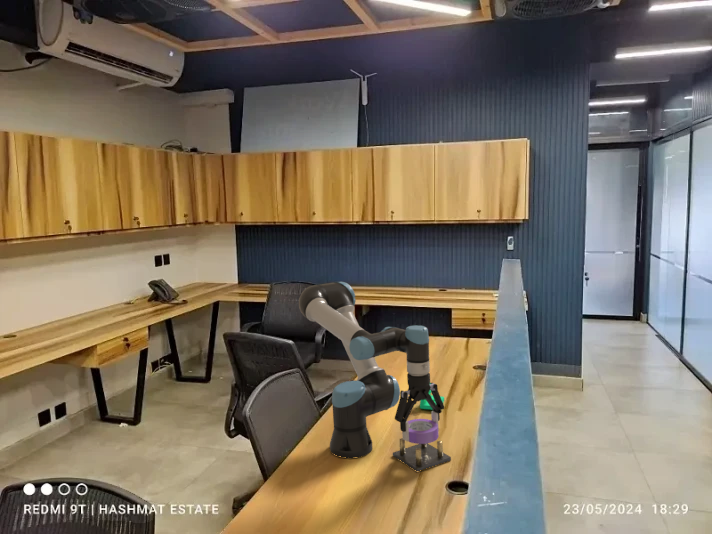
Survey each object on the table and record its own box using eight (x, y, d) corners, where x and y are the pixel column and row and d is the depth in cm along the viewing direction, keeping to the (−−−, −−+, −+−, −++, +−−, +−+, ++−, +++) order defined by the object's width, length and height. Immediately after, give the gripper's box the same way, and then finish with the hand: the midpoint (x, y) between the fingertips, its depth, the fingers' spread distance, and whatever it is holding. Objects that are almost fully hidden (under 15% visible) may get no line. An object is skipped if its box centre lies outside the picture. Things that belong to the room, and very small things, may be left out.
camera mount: (438, 412, 219) (437, 388, 218) (420, 410, 222) (419, 387, 221) (444, 402, 230) (444, 379, 229) (427, 400, 233) (427, 377, 232)
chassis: (417, 472, 171) (416, 454, 170) (392, 455, 183) (392, 438, 182) (451, 460, 178) (450, 442, 177) (425, 445, 190) (424, 428, 189)
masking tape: (418, 447, 171) (417, 435, 171) (396, 435, 181) (396, 424, 181) (445, 437, 177) (445, 426, 177) (423, 426, 187) (423, 416, 187)
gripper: (395, 383, 168) (397, 448, 170) (453, 368, 180) (455, 429, 182) (382, 377, 174) (385, 440, 177) (439, 363, 186) (441, 422, 188)
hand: (420, 435), depth 179 cm, fingers closed on masking tape, 12 cm apart
